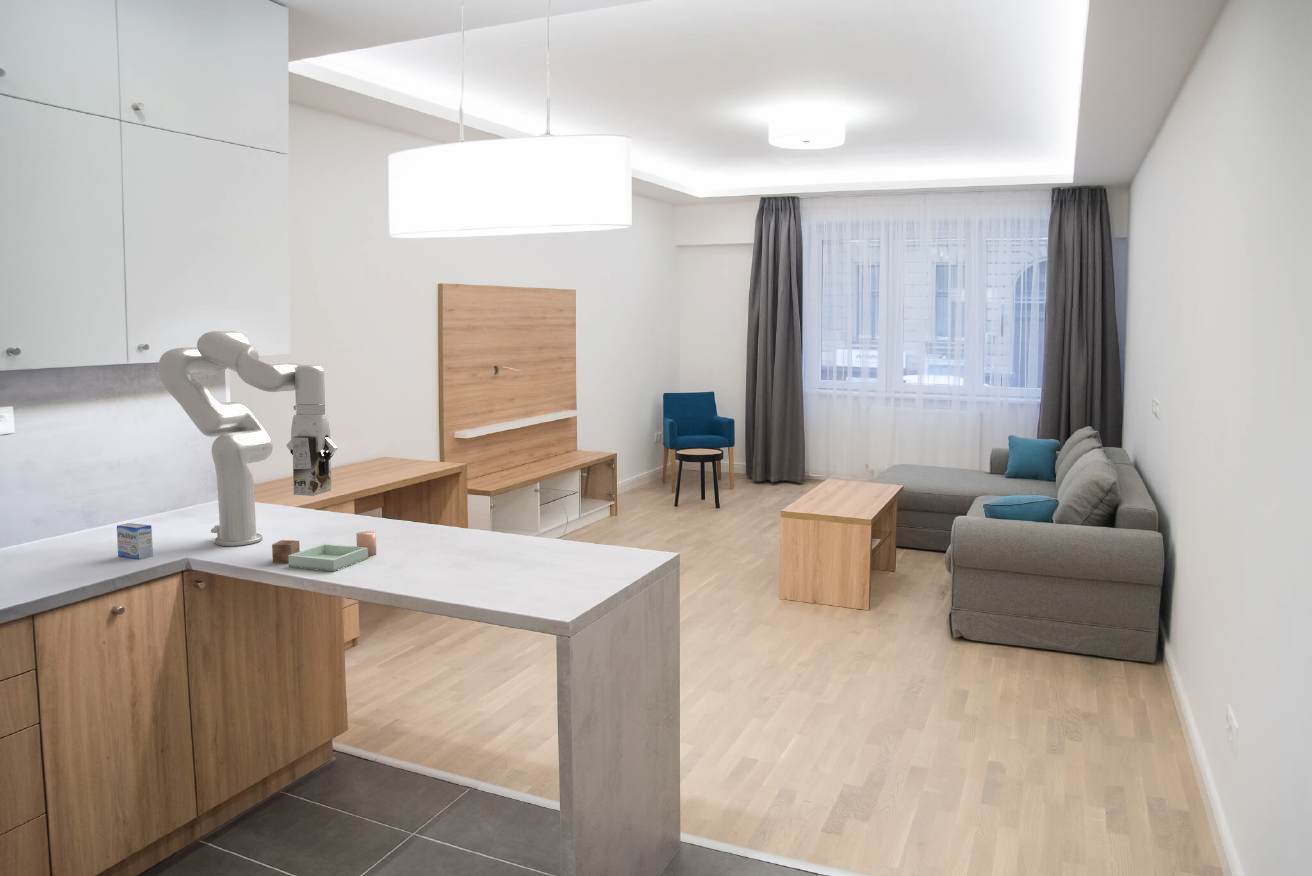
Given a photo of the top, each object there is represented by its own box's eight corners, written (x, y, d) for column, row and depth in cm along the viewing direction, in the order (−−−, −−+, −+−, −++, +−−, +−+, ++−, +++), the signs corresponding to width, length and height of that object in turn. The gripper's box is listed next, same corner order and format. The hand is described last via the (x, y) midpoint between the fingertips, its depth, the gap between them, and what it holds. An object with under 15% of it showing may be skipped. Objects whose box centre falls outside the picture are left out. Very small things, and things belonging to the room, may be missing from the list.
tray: (288, 566, 233) (288, 555, 233) (324, 554, 247) (324, 543, 246) (334, 571, 229) (333, 560, 229) (368, 558, 242) (367, 547, 242)
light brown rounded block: (353, 556, 245) (352, 534, 244) (364, 552, 250) (363, 530, 249) (368, 557, 243) (368, 536, 243) (380, 553, 248) (379, 532, 247)
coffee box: (314, 496, 245) (312, 437, 243) (292, 495, 247) (291, 436, 245) (332, 490, 254) (331, 433, 252) (311, 489, 256) (310, 432, 254)
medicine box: (117, 557, 242) (115, 525, 241) (132, 553, 247) (130, 522, 246) (139, 559, 240) (137, 527, 239) (153, 556, 244) (151, 524, 243)
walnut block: (272, 563, 237) (272, 544, 237) (281, 558, 242) (281, 540, 242) (291, 563, 237) (290, 545, 237) (299, 558, 242) (299, 540, 242)
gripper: (275, 410, 247) (277, 474, 249) (328, 412, 241) (329, 478, 244) (294, 407, 254) (296, 470, 256) (346, 410, 249) (347, 474, 251)
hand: (312, 473), depth 250 cm, fingers closed on coffee box, 6 cm apart
